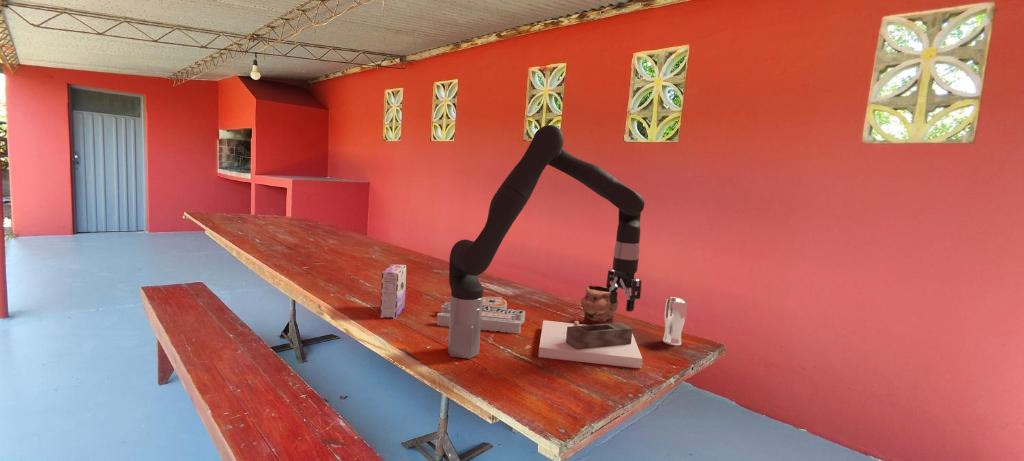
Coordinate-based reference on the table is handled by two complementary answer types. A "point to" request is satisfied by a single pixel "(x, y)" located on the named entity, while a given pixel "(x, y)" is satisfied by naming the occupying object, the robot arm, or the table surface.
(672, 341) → the beer glass
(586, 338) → the frame
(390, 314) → the candy box
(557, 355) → the wall plate
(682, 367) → the table surface
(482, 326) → the sign
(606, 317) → the decorative planter
